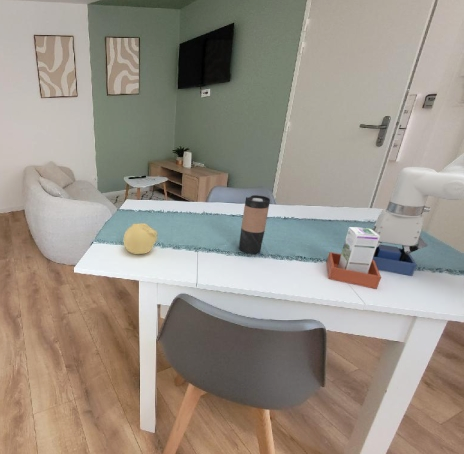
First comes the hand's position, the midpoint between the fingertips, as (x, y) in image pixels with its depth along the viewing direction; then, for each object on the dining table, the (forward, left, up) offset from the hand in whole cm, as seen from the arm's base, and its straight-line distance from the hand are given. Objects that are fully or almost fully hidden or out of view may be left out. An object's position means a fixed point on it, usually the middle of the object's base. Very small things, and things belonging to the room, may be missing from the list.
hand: (384, 260), depth 95 cm
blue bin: (0, 0, -1) cm, 1 cm away
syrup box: (+10, +13, -1) cm, 16 cm away
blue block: (0, 0, -1) cm, 1 cm away
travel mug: (+39, +9, -1) cm, 40 cm away
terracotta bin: (+10, +13, -1) cm, 16 cm away
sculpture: (+75, +28, -1) cm, 80 cm away
